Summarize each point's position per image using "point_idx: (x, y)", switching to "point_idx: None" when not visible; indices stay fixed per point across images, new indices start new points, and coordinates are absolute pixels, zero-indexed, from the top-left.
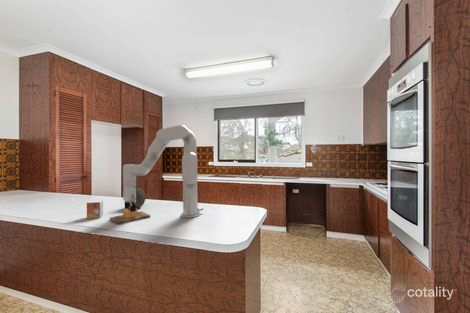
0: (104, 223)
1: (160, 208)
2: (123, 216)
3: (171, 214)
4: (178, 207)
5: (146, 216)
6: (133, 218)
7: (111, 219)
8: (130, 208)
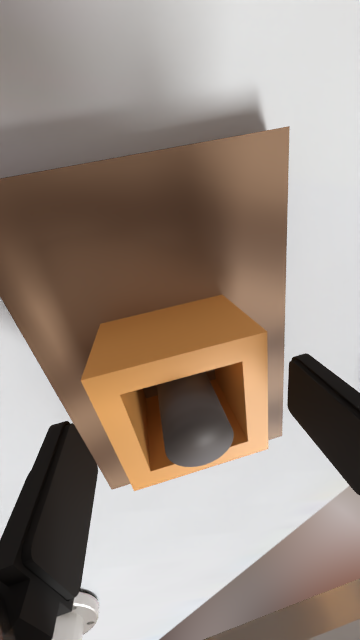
0: (123, 15)
1: (296, 502)
2: (208, 298)
3: (117, 552)
4: (244, 561)
5: (101, 465)
6: (59, 383)
7: (207, 145)
8: (32, 480)
